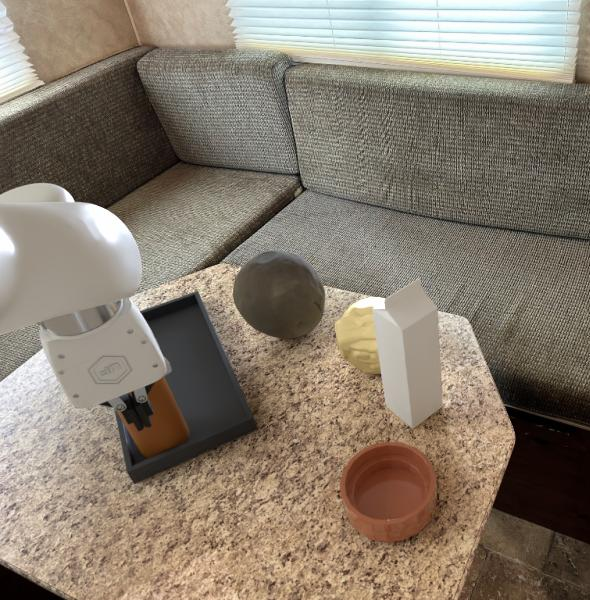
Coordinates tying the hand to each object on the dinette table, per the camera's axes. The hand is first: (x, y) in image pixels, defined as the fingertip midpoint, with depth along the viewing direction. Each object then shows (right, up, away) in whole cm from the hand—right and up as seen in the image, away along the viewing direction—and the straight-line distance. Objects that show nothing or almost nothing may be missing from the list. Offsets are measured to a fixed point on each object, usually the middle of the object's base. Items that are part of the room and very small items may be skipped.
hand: (143, 420), depth 73 cm
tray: (-6, +2, +24) cm, 25 cm away
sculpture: (+27, +5, +24) cm, 37 cm away
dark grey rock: (+12, +9, +31) cm, 34 cm away
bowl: (+30, -11, +4) cm, 32 cm away
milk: (+33, -1, +16) cm, 36 cm away
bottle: (-3, -6, +14) cm, 15 cm away
